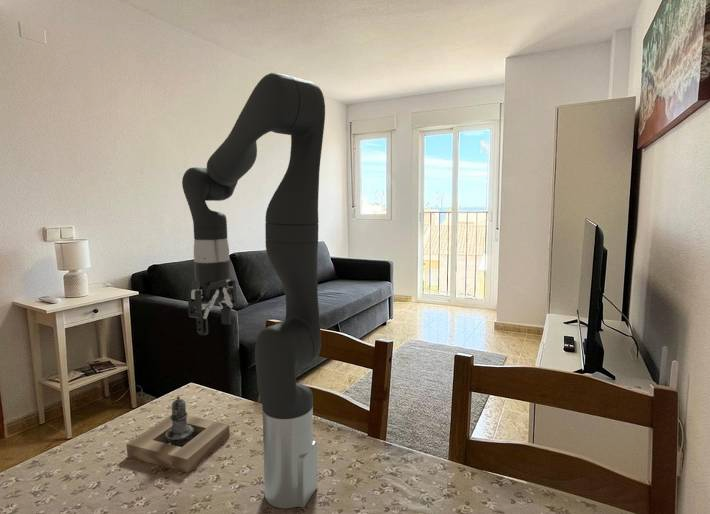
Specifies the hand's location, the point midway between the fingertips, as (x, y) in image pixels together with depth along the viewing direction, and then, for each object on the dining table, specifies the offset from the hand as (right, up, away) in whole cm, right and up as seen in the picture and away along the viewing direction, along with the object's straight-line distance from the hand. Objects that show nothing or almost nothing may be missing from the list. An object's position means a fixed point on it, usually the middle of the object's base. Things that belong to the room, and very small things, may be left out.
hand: (215, 329), depth 95 cm
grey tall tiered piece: (-7, -26, -2) cm, 27 cm away
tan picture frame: (-7, -26, -1) cm, 27 cm away
